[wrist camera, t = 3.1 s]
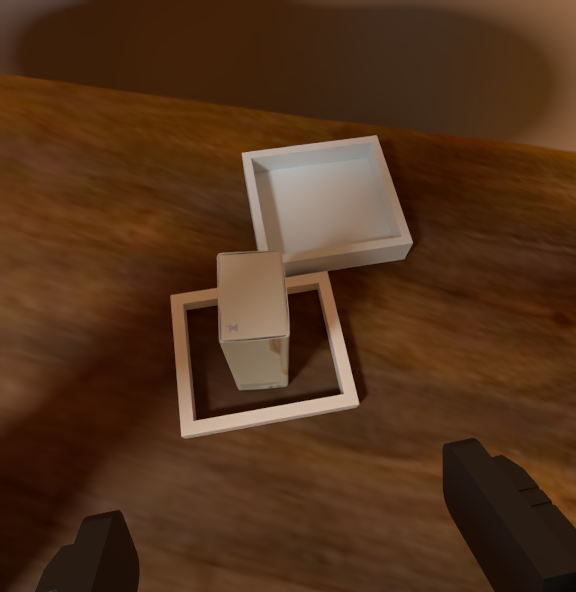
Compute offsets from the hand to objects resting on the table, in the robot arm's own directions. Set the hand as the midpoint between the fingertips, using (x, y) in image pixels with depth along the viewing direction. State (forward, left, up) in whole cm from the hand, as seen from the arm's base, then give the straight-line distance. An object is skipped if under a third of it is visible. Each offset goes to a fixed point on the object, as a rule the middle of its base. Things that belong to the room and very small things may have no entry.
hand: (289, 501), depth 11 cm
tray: (+24, -8, -25) cm, 36 cm away
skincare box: (+11, 0, -25) cm, 27 cm away
